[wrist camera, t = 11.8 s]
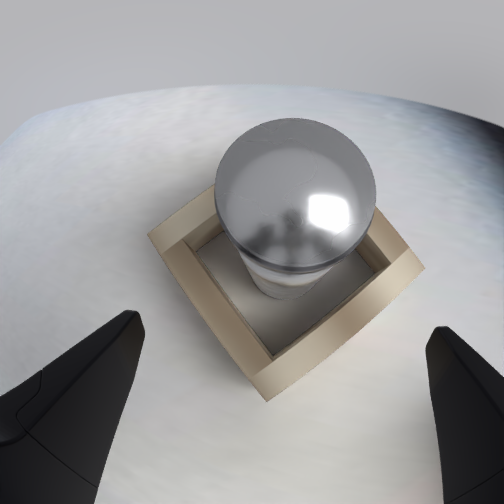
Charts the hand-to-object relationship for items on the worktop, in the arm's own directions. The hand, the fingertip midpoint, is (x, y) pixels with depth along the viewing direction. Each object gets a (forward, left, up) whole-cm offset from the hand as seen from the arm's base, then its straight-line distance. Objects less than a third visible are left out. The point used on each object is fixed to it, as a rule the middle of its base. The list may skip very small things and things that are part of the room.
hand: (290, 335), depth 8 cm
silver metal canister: (+3, +3, -10) cm, 10 cm away
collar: (+3, +3, -10) cm, 10 cm away
